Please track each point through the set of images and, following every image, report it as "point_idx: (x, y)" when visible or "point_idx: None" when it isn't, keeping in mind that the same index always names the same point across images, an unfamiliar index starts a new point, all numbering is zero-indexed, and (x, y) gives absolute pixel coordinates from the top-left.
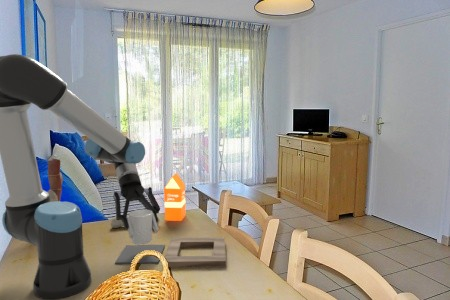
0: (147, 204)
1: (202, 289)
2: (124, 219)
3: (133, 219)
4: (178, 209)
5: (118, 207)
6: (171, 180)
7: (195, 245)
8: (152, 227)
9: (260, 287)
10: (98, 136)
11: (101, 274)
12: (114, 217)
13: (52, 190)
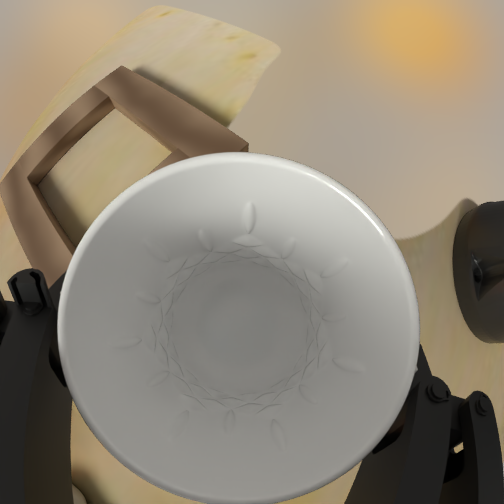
0: (17, 430)
1: (243, 43)
2: (424, 375)
3: (380, 270)
4: None
5: (492, 497)
6: None
7: (55, 221)
8: (81, 493)
9: (165, 19)
10: None
11: (428, 264)
12: None
13: None
